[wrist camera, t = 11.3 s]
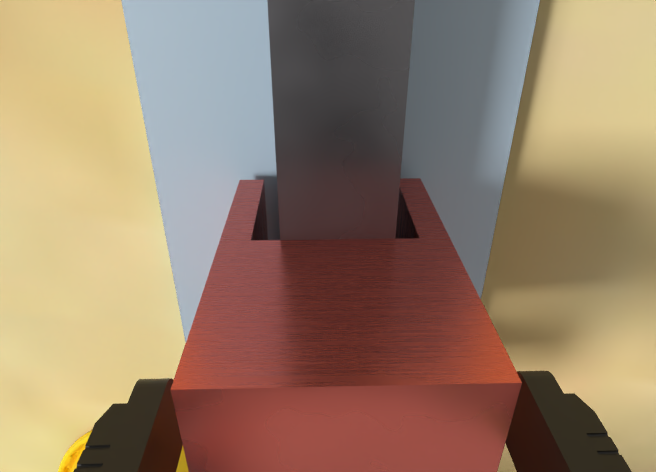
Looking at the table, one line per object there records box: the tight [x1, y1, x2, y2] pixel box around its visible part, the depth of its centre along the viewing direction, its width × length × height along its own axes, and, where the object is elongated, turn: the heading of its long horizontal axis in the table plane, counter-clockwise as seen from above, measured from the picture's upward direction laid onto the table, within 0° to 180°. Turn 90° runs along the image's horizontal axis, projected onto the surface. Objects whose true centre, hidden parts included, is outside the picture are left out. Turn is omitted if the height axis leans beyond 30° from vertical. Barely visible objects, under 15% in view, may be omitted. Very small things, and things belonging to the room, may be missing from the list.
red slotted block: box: [171, 178, 522, 472], centre depth 14 cm, size 6×6×9 cm
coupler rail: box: [267, 0, 415, 240], centre depth 13 cm, size 20×7×8 cm, turn 0°
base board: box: [122, 0, 540, 341], centre depth 16 cm, size 22×12×1 cm, turn 0°
